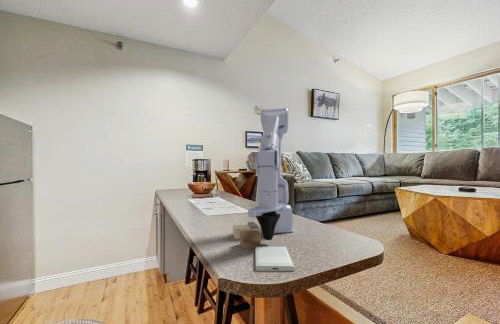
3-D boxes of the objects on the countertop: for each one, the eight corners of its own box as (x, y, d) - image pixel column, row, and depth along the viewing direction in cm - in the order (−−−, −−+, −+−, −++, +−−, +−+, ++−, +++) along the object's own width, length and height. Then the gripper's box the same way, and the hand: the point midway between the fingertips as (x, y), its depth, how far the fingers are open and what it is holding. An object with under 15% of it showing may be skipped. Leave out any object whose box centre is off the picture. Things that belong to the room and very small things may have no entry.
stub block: (257, 243, 67) (256, 229, 67) (260, 247, 63) (260, 232, 63) (240, 244, 66) (240, 230, 66) (242, 249, 62) (242, 233, 62)
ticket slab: (256, 233, 77) (256, 221, 77) (261, 237, 72) (261, 225, 72) (232, 234, 75) (232, 223, 76) (235, 239, 70) (235, 227, 70)
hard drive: (255, 246, 61) (255, 265, 48) (286, 246, 61) (294, 265, 48) (255, 252, 61) (255, 273, 48) (286, 252, 61) (294, 273, 48)
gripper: (271, 189, 74) (272, 231, 74) (239, 192, 64) (240, 242, 63) (290, 190, 69) (291, 235, 69) (259, 193, 59) (259, 247, 58)
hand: (268, 239), depth 66 cm, fingers closed
